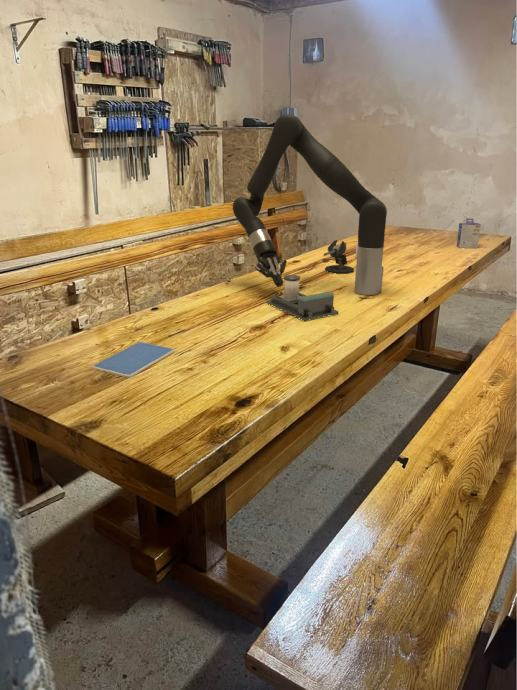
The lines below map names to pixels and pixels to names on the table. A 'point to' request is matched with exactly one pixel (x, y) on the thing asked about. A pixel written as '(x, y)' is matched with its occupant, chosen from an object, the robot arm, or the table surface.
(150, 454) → the table surface
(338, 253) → the gun turret
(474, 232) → the ink cartridge box
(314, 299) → the knob mount
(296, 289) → the knob carriage
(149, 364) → the tablet computer
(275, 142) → the robot arm
